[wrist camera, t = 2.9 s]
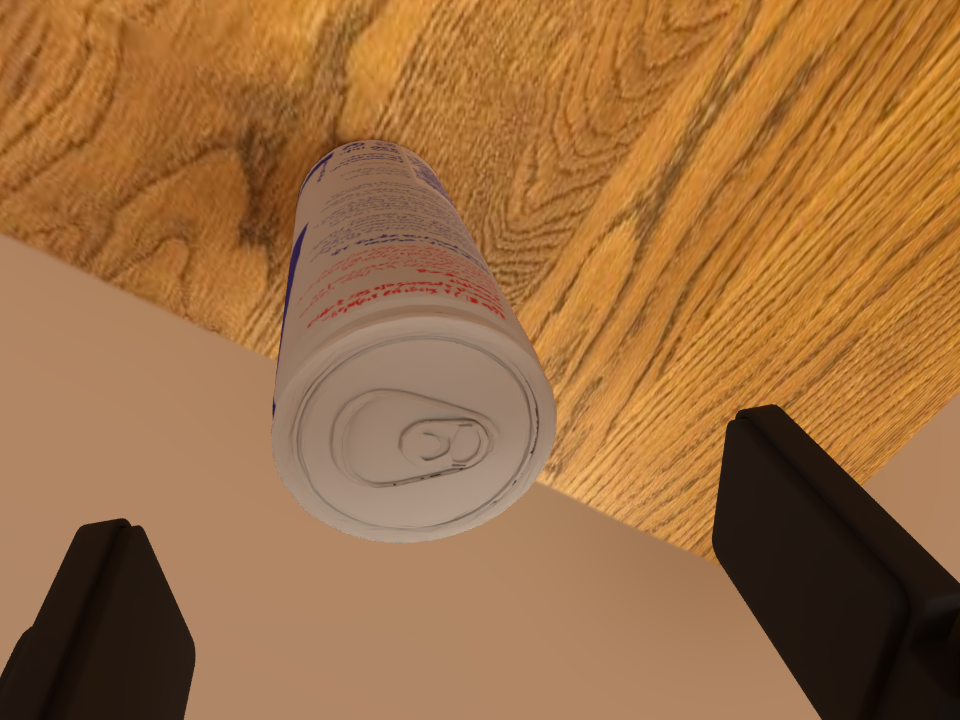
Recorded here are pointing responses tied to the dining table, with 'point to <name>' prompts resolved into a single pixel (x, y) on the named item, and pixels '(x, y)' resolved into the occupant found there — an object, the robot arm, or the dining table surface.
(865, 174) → the dining table surface
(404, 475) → the beverage can
